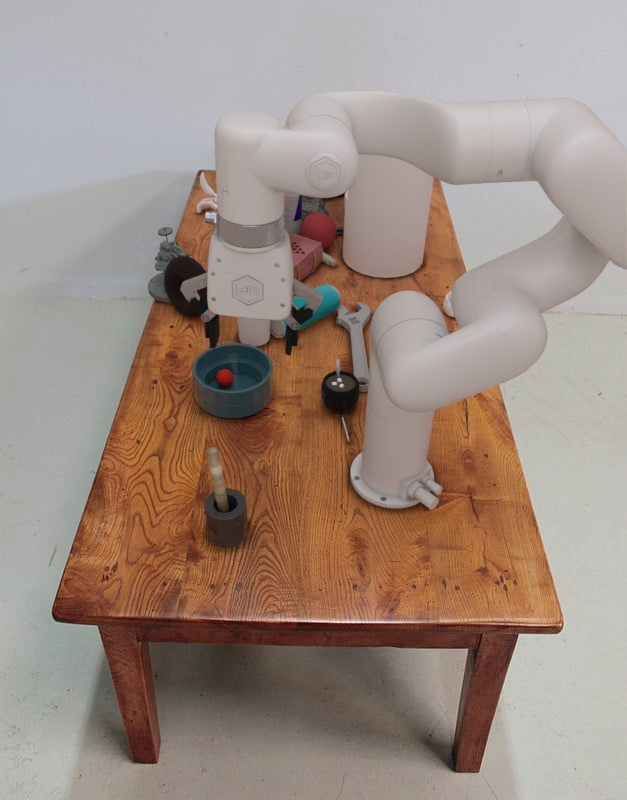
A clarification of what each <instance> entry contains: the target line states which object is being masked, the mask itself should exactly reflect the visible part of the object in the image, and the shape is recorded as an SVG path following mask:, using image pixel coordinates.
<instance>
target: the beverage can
mask: <svg viewBox="0 0 627 800" xmlns="http://www.w3.org/2000/svg"><path fill="white" fill-rule="evenodd" d="M313 289H314V290H316V291H318V292H320V293H321V294H322V295H323V298H322V303H321V304H320V306H319V307H318V309H317V310H316V311H315V312H314V314H313V316H312V317H311V318H310V319H309V320H307V321H306V322H305V323H303V324H302V325H300V328H299V331H301V330H304V329H306V328H307V327H309V326H310V325H313V324H314V323H317V322H319V321H320V320H322V319H324V318H326V317H328V316H330V315H332V314H334V313H335V312H336V311H338V310H339V308H340V307H341V304H342V295H341V293H340V291H339V289H338V288H337V287H336V286H334V285H332V284H321V285H318V286H317V287H314V288H313ZM292 302H293V303H294V304H295V305H296V306H297V308H298V309H300V308H301V307H303V306H304V305H305V304H307V303H308V302H307V301H306V300H304V299H302V298H300V297H299V296H296V297H293V299H292ZM286 327H287V323H286V322H285V321H284V320H271V326H270V334H271V335H272V336H273V337H275V338H276V339H282V338H284V337H285V338H286Z"/></svg>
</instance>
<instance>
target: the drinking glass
mask: <svg viewBox="0 0 627 800" xmlns="http://www.w3.org/2000/svg"><path fill="white" fill-rule="evenodd" d="M236 320H237V329H238V340H239V342H240V343H242V344H249V345H252V346H255V347H260V346H264V345H266V344H267V343H268V342H269V341H270V339H271V332H270V326H271V320H263V319H252V318H241V317H236Z"/></svg>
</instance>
